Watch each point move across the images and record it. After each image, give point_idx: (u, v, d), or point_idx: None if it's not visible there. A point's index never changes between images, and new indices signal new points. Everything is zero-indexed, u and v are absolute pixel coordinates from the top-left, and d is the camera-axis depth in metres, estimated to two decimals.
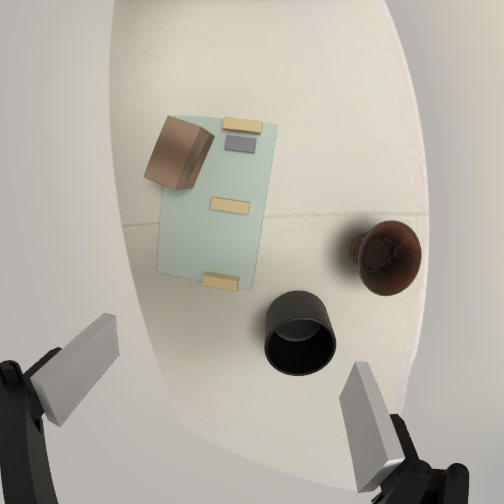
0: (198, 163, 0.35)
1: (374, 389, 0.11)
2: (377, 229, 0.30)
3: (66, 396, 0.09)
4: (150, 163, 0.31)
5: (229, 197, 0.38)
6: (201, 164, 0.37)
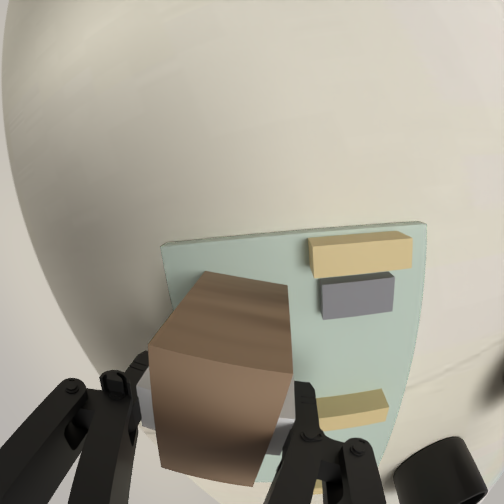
0: None
1: None
2: None
3: None
4: (164, 451, 0.09)
5: (340, 393, 0.17)
6: None
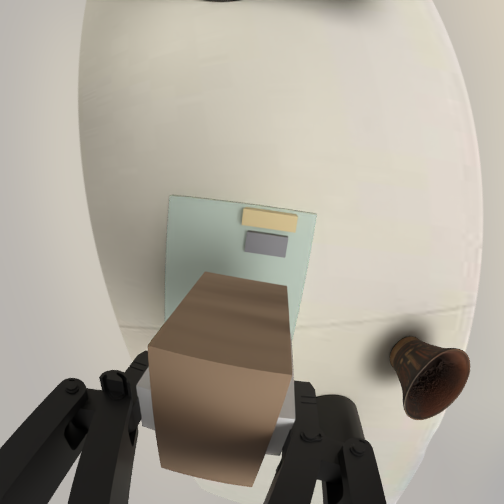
0: None
1: None
2: None
3: None
4: (164, 451, 0.10)
5: None
6: None
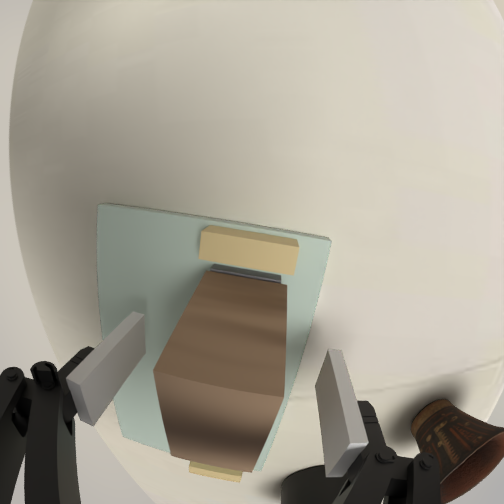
0: None
1: (344, 375, 0.12)
2: None
3: (100, 395, 0.10)
4: (173, 444, 0.11)
5: None
6: None
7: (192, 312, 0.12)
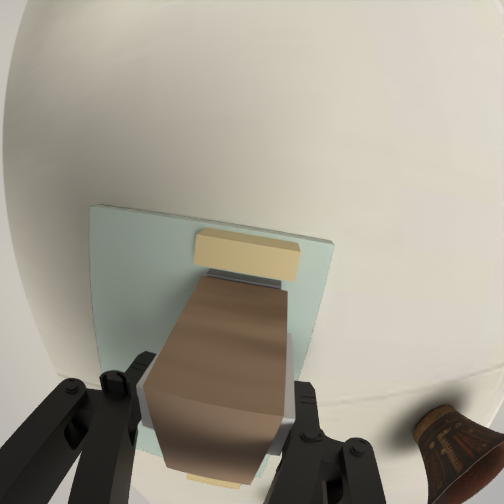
0: None
1: (287, 355, 0.13)
2: (476, 457, 0.10)
3: None
4: (168, 457, 0.10)
5: None
6: None
7: (186, 322, 0.11)
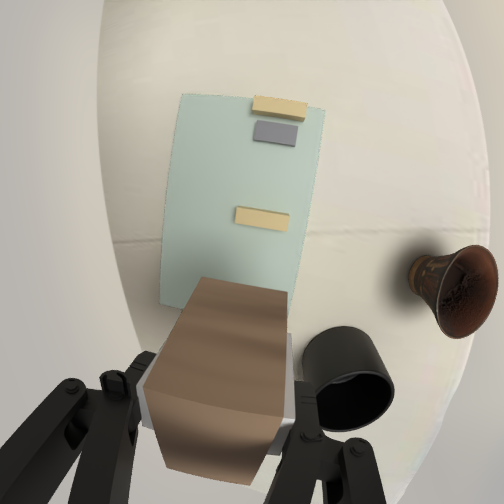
0: None
1: (287, 356, 0.13)
2: (458, 256, 0.20)
3: None
4: (168, 458, 0.10)
5: (259, 206, 0.28)
6: None
7: (186, 323, 0.11)
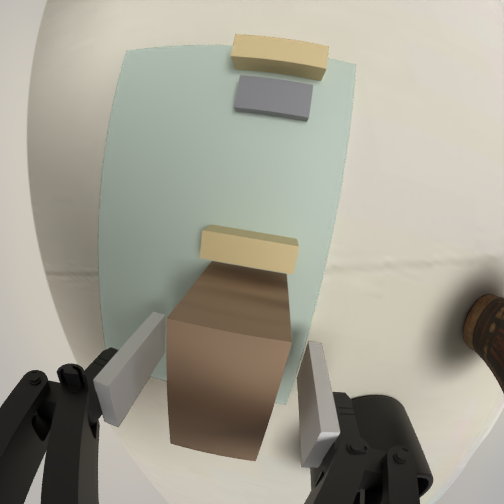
0: None
1: (321, 366, 0.12)
2: None
3: (125, 395, 0.10)
4: (174, 425, 0.11)
5: (245, 226, 0.16)
6: None
7: (202, 284, 0.13)
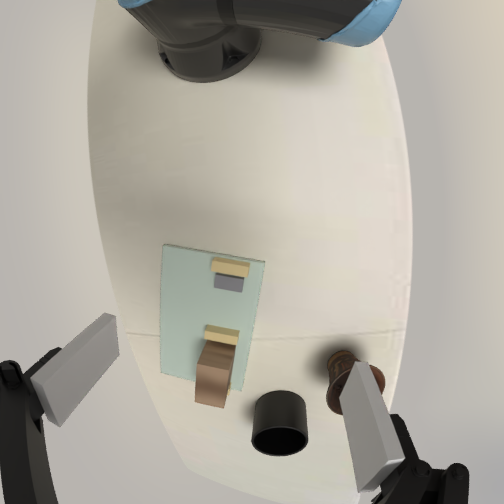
0: (231, 370, 0.41)
1: (374, 389, 0.11)
2: (347, 371, 0.34)
3: (66, 396, 0.09)
4: (196, 394, 0.37)
5: (220, 325, 0.42)
6: (232, 365, 0.43)
7: (205, 349, 0.39)
